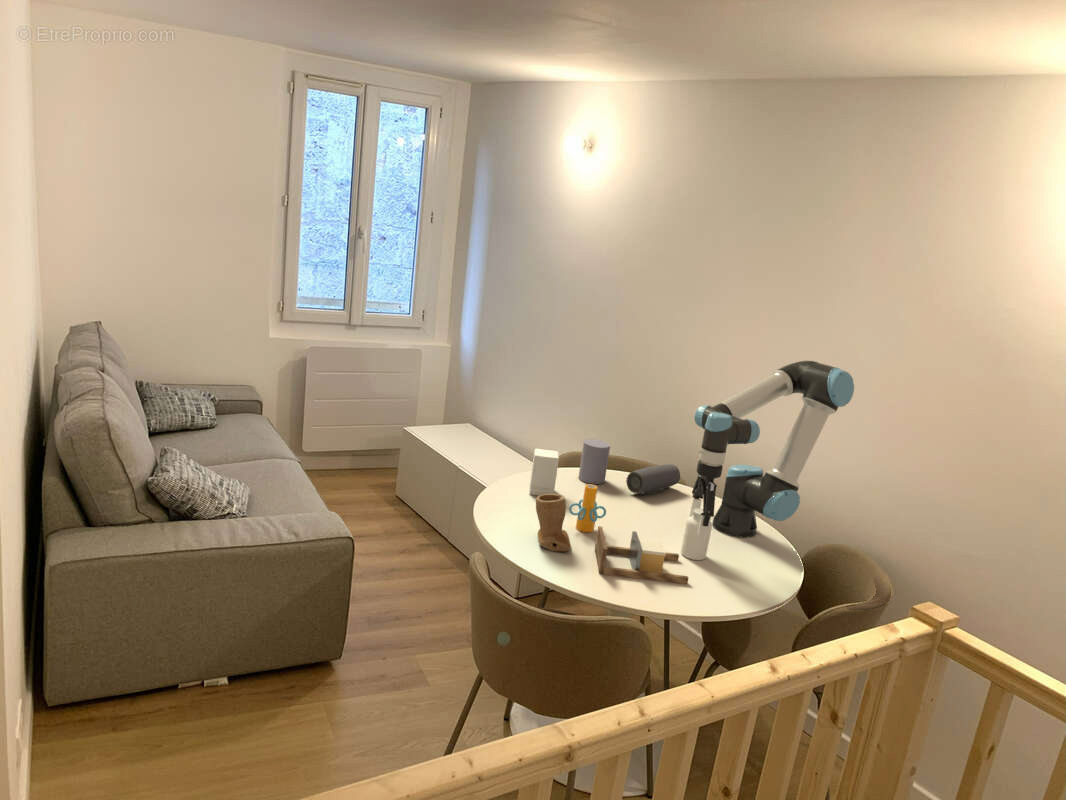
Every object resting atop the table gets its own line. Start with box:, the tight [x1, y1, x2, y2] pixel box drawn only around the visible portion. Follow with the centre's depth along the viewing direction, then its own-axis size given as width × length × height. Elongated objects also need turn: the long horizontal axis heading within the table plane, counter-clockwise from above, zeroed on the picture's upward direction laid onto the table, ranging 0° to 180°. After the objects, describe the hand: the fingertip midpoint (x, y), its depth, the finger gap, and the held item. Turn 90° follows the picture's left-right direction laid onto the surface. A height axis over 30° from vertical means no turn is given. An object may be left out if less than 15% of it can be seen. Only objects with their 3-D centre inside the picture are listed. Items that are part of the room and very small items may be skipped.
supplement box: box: [528, 448, 560, 496], centre depth 290 cm, size 9×9×15 cm
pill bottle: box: [680, 508, 713, 561], centre depth 252 cm, size 8×8×15 cm
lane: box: [594, 526, 689, 585], centre depth 239 cm, size 26×16×8 cm, turn 90°
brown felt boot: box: [535, 493, 572, 552], centre depth 247 cm, size 15×12×15 cm
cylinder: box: [568, 483, 607, 533], centre depth 261 cm, size 12×10×15 cm
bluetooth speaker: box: [625, 463, 681, 495], centre depth 307 cm, size 23×9×10 cm, turn 133°
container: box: [578, 438, 611, 485], centre depth 310 cm, size 10×10×15 cm
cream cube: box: [639, 539, 666, 573], centre depth 240 cm, size 7×7×7 cm
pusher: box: [628, 531, 642, 570], centre depth 239 cm, size 1×13×8 cm, turn 1°
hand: (697, 526), depth 251 cm, fingers open, 13 cm apart
